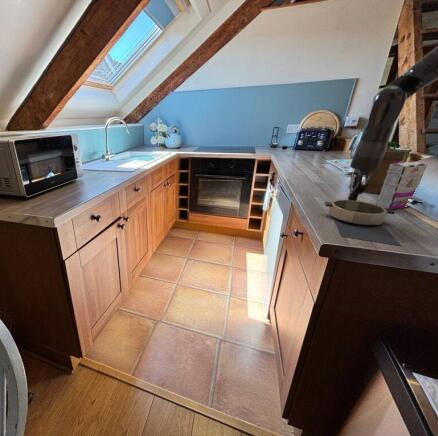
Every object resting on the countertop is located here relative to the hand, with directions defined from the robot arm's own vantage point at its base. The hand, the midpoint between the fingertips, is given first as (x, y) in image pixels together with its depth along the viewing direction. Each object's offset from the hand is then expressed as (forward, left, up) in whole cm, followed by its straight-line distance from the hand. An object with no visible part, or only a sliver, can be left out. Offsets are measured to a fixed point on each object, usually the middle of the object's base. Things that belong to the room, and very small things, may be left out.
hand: (350, 202), depth 88 cm
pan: (0, +9, -3) cm, 9 cm away
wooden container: (-14, -38, -3) cm, 41 cm away
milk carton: (-19, -56, -3) cm, 59 cm away
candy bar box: (-15, -12, -3) cm, 20 cm away
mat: (0, +19, -3) cm, 20 cm away
